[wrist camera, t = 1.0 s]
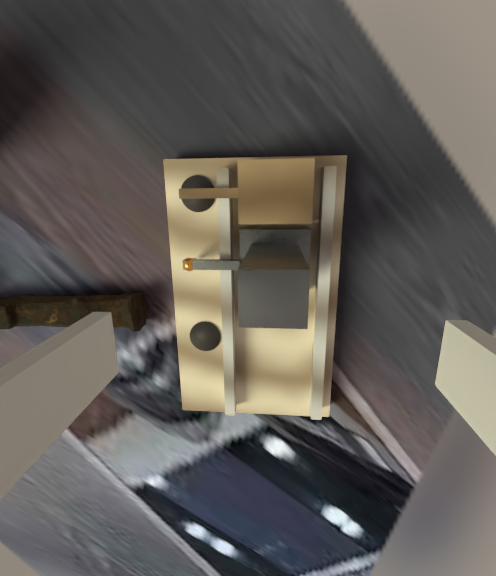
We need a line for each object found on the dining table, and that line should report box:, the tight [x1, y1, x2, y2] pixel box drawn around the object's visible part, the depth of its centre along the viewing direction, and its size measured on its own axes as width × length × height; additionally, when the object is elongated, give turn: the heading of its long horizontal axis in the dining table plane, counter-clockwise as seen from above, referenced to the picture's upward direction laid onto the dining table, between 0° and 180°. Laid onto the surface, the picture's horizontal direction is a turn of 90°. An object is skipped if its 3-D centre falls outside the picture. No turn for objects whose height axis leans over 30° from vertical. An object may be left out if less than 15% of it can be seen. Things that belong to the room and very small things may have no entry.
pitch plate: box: [163, 155, 347, 420], centre depth 31 cm, size 26×16×5 cm, turn 1°
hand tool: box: [0, 292, 147, 331], centre depth 33 cm, size 19×4×5 cm, turn 89°
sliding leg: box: [182, 227, 311, 329], centre depth 24 cm, size 6×11×12 cm, turn 90°
